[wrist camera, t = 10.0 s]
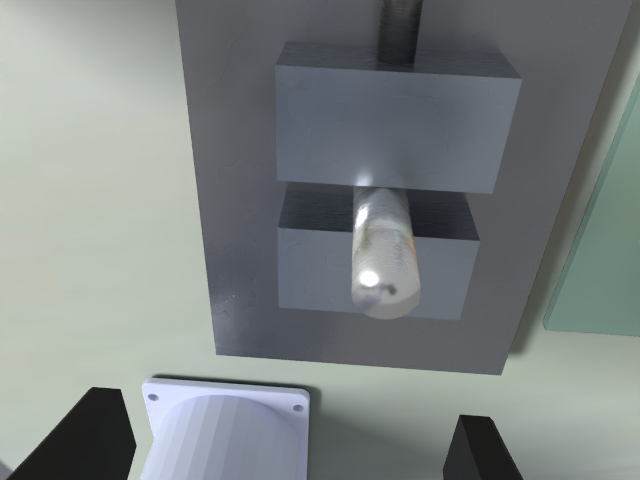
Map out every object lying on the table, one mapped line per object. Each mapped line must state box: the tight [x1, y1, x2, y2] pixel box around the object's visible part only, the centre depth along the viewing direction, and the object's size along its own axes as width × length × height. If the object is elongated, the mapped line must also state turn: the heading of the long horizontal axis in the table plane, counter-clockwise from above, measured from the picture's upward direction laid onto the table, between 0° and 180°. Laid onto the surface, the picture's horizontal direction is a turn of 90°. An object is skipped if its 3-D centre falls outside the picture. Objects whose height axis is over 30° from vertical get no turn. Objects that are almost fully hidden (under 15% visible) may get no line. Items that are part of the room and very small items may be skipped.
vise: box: [175, 0, 633, 375], centre depth 15 cm, size 18×12×7 cm, turn 178°
